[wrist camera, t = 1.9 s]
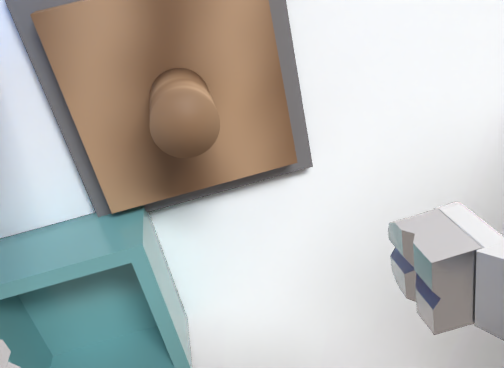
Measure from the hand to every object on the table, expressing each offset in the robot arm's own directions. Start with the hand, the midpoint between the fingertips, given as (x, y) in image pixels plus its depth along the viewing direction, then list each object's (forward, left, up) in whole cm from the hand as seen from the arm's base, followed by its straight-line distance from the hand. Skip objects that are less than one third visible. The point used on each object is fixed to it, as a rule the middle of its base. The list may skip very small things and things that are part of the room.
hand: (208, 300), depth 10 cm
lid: (0, 0, -16) cm, 16 cm away
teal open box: (+8, +10, -16) cm, 20 cm away
